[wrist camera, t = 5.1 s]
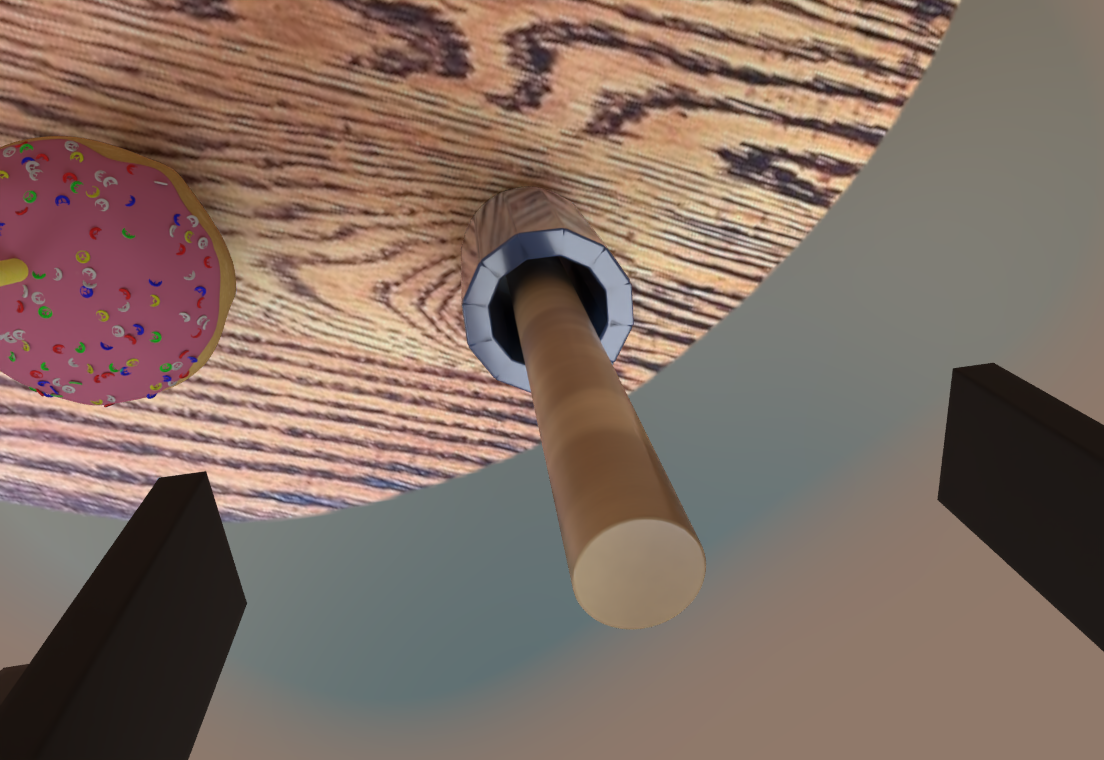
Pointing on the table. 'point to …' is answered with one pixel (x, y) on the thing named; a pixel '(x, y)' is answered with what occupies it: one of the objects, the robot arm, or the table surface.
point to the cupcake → (105, 272)
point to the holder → (530, 233)
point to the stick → (601, 464)
